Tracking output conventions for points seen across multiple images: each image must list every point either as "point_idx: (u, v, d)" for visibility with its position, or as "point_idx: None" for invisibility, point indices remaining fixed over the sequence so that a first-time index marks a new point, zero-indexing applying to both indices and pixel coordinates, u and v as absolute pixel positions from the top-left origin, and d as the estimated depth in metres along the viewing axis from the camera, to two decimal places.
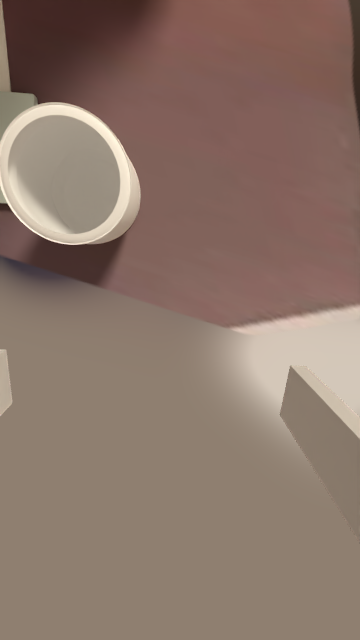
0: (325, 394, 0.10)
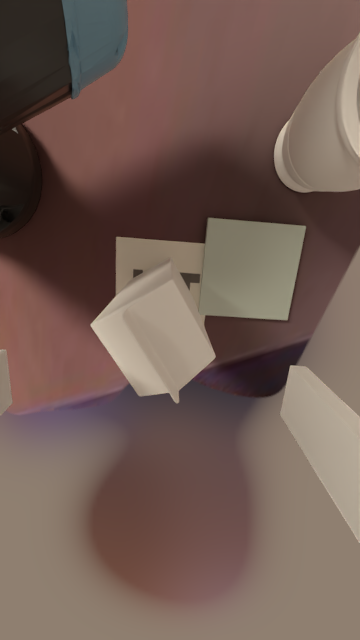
0: (325, 394, 0.10)
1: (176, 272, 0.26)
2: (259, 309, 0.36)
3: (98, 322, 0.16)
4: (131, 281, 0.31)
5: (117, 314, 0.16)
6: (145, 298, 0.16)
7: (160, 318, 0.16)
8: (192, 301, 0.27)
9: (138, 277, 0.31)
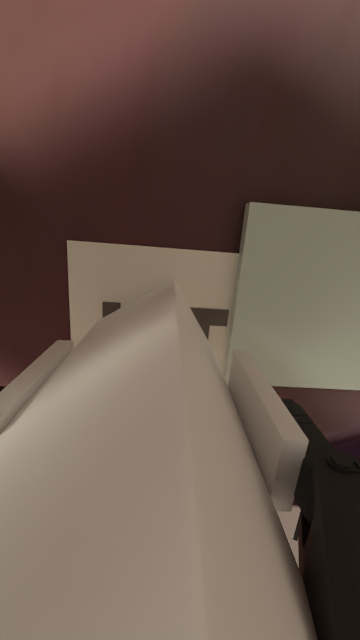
0: (253, 372, 0.12)
1: (190, 338, 0.10)
2: (336, 373, 0.19)
3: None
4: (90, 334, 0.15)
5: None
6: None
7: None
8: (229, 405, 0.11)
9: (105, 326, 0.15)
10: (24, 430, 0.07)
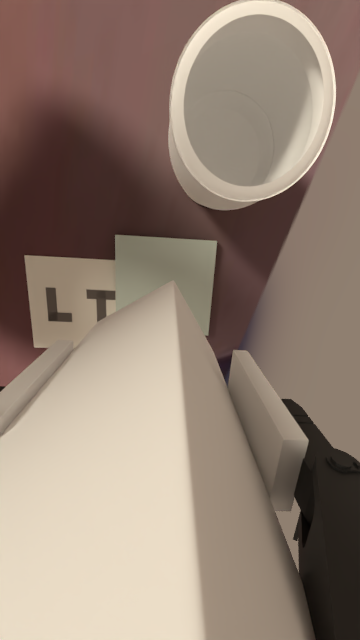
0: (253, 372, 0.12)
1: (190, 340, 0.10)
2: None
3: None
4: (90, 336, 0.15)
5: None
6: None
7: None
8: (229, 407, 0.11)
9: (105, 328, 0.15)
10: (24, 433, 0.07)
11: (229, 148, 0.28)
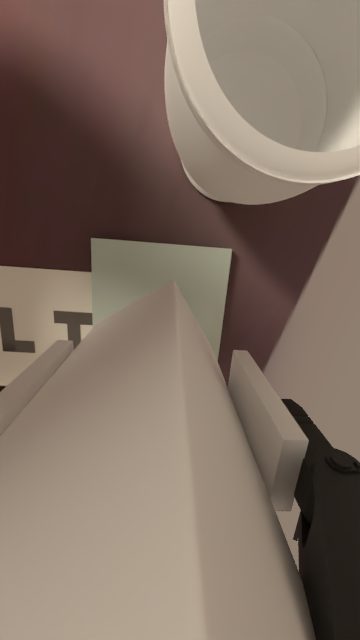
0: (253, 372, 0.12)
1: (190, 340, 0.10)
2: None
3: None
4: (90, 336, 0.15)
5: None
6: None
7: None
8: (229, 407, 0.11)
9: (105, 328, 0.15)
10: (24, 433, 0.07)
11: (255, 116, 0.20)
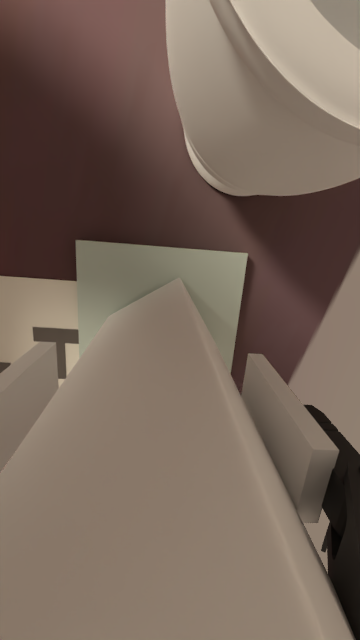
0: (271, 377, 0.11)
1: (203, 329, 0.11)
2: None
3: None
4: (105, 328, 0.16)
5: None
6: None
7: None
8: (236, 388, 0.12)
9: (119, 320, 0.16)
10: (70, 403, 0.08)
11: None
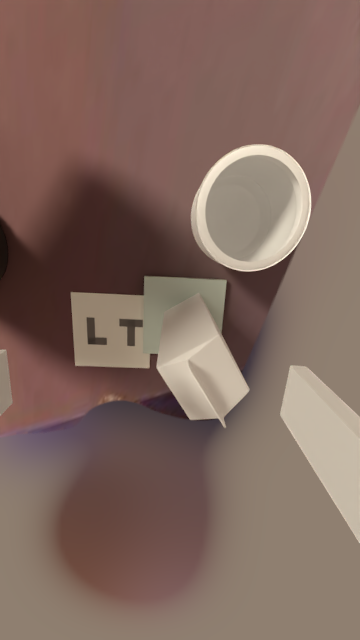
0: (325, 394, 0.10)
1: None
2: None
3: (163, 366, 0.22)
4: (167, 316, 0.37)
5: (180, 362, 0.21)
6: (200, 350, 0.21)
7: (210, 364, 0.22)
8: None
9: (173, 312, 0.37)
10: (171, 333, 0.29)
11: (236, 211, 0.36)
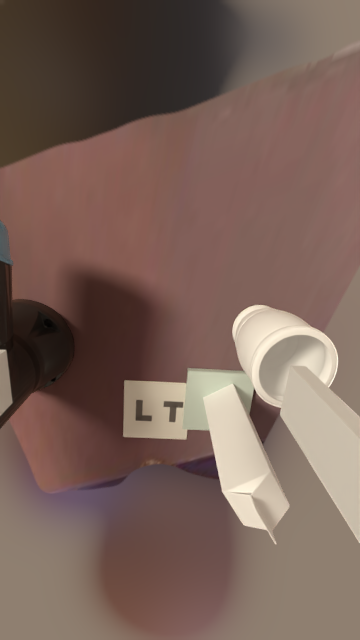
0: (325, 394, 0.10)
1: (249, 419, 0.39)
2: None
3: (229, 493, 0.30)
4: (209, 409, 0.44)
5: (243, 494, 0.29)
6: (258, 486, 0.29)
7: (265, 494, 0.29)
8: (257, 435, 0.40)
9: (214, 406, 0.44)
10: (221, 442, 0.37)
11: None
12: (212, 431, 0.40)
